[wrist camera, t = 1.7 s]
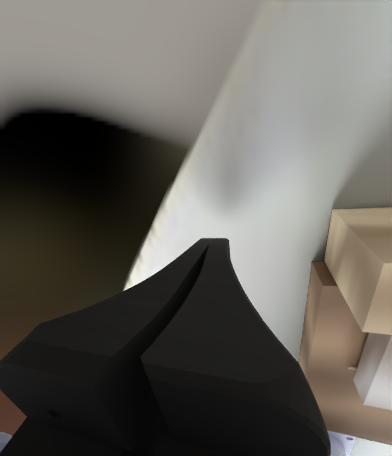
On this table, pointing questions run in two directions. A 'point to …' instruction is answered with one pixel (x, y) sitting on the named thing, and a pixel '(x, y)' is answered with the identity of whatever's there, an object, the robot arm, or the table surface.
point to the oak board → (337, 361)
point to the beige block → (366, 291)
